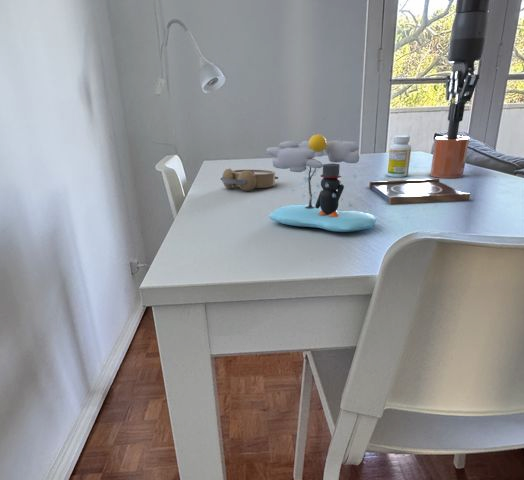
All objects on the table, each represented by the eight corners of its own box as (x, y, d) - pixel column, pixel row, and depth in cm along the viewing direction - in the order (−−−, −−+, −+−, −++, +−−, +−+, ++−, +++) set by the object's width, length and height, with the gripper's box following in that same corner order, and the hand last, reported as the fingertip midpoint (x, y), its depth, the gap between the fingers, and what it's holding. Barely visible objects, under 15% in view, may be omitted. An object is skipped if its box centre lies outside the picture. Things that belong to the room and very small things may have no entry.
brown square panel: (437, 184, 113) (438, 178, 112) (469, 200, 98) (470, 193, 97) (369, 187, 112) (369, 181, 112) (390, 204, 97) (390, 197, 96)
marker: (453, 146, 120) (460, 97, 115) (457, 147, 118) (465, 98, 113) (443, 146, 120) (450, 98, 115) (447, 148, 118) (454, 98, 113)
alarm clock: (285, 172, 118) (244, 169, 107) (283, 192, 120) (243, 192, 109) (252, 168, 124) (210, 165, 114) (250, 188, 126) (209, 187, 115)
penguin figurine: (384, 226, 83) (393, 132, 75) (354, 241, 76) (360, 138, 68) (293, 212, 94) (292, 128, 87) (259, 224, 87) (255, 134, 80)
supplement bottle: (398, 178, 122) (402, 137, 117) (382, 175, 126) (386, 136, 121) (412, 175, 124) (417, 135, 119) (397, 172, 128) (401, 134, 123)
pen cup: (455, 172, 126) (461, 135, 122) (468, 177, 119) (474, 138, 115) (425, 173, 126) (430, 136, 122) (437, 178, 119) (442, 140, 115)
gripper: (498, 34, 102) (482, 122, 110) (470, 39, 114) (457, 118, 122) (464, 35, 102) (451, 123, 110) (440, 40, 114) (429, 119, 122)
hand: (454, 120), depth 116 cm, fingers closed on marker, 2 cm apart
